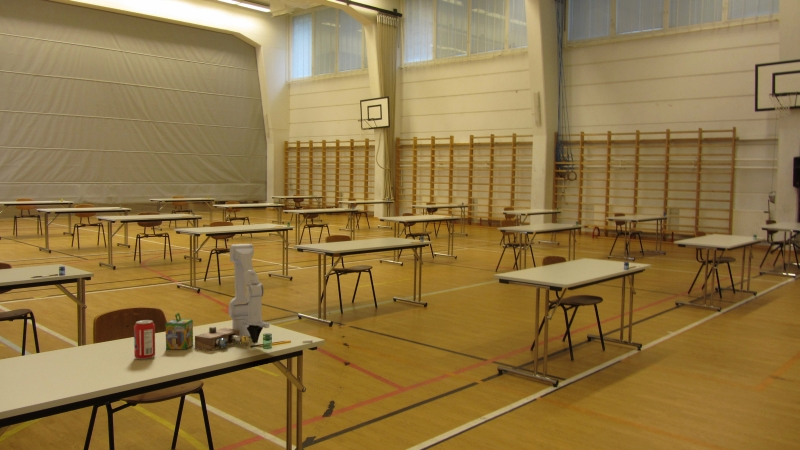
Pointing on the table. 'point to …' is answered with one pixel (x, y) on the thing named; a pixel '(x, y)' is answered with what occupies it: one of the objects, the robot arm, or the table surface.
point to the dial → (212, 329)
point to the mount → (208, 339)
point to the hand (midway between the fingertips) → (255, 342)
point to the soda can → (144, 339)
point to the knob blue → (221, 342)
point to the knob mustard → (239, 339)
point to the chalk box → (179, 333)
